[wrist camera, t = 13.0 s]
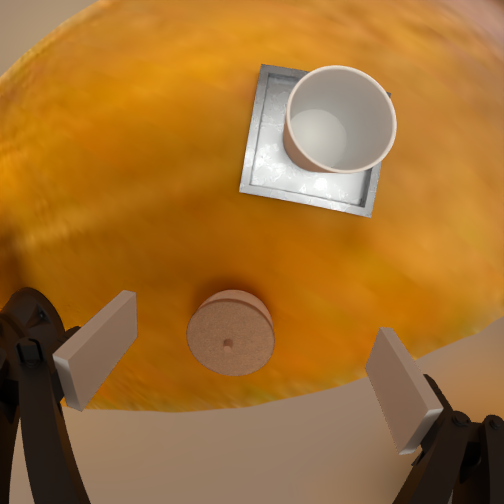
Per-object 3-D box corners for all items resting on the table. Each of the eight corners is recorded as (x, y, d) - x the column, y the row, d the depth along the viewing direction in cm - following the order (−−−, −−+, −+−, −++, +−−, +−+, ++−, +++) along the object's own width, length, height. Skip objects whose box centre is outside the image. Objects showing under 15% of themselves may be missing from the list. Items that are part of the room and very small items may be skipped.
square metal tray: (242, 190, 38) (239, 191, 35) (262, 71, 33) (261, 64, 30) (363, 214, 37) (370, 217, 34) (383, 98, 33) (390, 93, 30)
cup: (269, 146, 35) (262, 127, 20) (307, 95, 33) (326, 45, 17) (324, 185, 36) (357, 197, 20) (361, 134, 33) (415, 113, 18)
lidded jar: (189, 290, 42) (167, 320, 33) (261, 268, 40) (256, 296, 31) (217, 351, 44) (204, 390, 35) (284, 335, 42) (285, 374, 33)
